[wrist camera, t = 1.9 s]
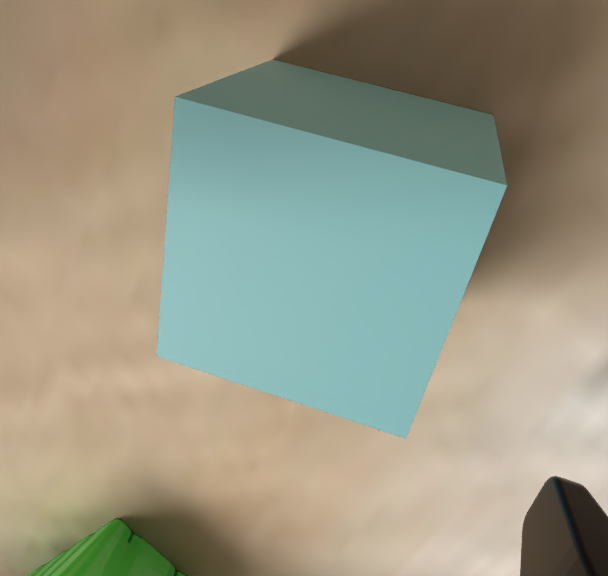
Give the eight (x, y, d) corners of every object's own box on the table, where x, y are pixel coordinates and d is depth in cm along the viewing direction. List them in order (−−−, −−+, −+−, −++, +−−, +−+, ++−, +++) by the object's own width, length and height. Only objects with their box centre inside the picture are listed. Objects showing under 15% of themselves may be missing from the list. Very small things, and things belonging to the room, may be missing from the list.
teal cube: (244, 252, 18) (156, 356, 13) (274, 59, 15) (175, 97, 10) (424, 306, 18) (405, 438, 12) (493, 114, 14) (507, 185, 9)
